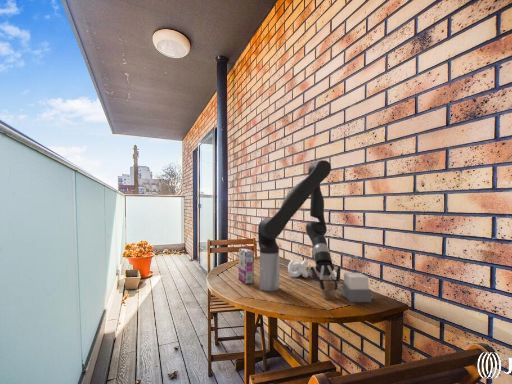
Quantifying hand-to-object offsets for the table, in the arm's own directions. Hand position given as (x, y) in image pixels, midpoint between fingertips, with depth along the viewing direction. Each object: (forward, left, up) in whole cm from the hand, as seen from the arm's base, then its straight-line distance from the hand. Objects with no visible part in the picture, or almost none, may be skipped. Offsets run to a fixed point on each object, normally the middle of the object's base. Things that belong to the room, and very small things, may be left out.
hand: (329, 289), depth 106 cm
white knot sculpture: (-8, +36, -4) cm, 37 cm away
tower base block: (+12, +2, -4) cm, 13 cm away
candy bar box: (-37, +26, -4) cm, 45 cm away
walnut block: (0, +2, -4) cm, 5 cm away
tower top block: (+12, +2, +1) cm, 12 cm away
